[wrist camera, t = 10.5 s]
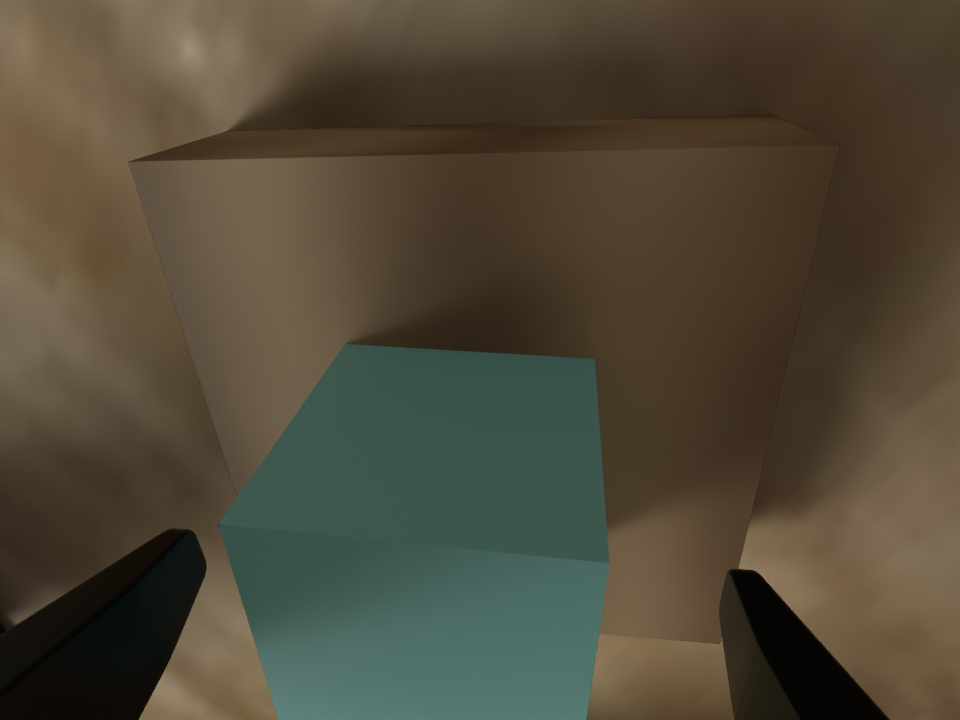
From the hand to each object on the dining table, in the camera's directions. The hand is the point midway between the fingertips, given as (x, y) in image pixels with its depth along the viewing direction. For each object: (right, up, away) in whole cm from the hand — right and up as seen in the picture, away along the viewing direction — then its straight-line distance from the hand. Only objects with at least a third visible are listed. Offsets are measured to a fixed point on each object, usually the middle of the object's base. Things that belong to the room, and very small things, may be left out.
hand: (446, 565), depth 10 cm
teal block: (0, +1, +3) cm, 3 cm away
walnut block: (+1, +4, +6) cm, 7 cm away
